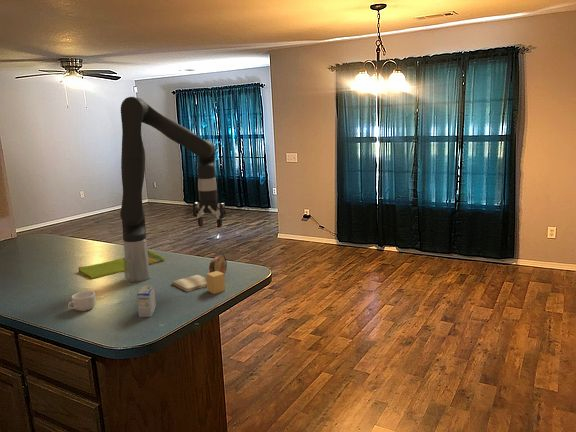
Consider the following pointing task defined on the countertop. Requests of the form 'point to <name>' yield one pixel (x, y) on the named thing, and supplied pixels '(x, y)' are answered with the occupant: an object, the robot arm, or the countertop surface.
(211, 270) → the tin
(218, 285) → the ochre block
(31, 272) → the countertop surface
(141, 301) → the medicine box
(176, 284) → the birch board
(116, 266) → the dish towel
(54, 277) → the countertop surface
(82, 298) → the teacup
